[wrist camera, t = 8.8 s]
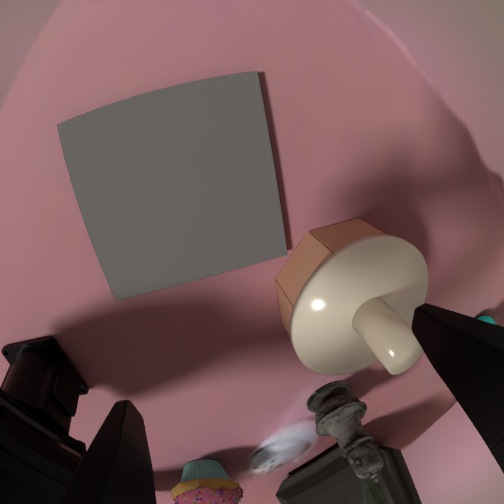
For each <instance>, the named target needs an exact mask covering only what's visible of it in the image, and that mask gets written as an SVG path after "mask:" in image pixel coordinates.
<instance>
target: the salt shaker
mask: <svg viewBox="0 0 504 504" xmlns="http://www.w3.org/2000/svg"><path fill="white" fill-rule="evenodd" d="M350 389H351V388H350V385H349V384H348V382H345V381H335V382H331V383H328V384H326V385H324V386H322V387H321V388H319V389H318V390H316V391H315V392H314V393H313V394H312V395H311V396H310V398H309V399H308V401H307V408H308V410H309V411H311V412H314V413H316V433H317V434H318V435H320V436H324V437H327V436H333V437H334V438H335V439H336V440H337V442H338V444H339V446H340V448H341V449H342V453H341V456H342V457H344V458H347V459H348V461H349V463H350V464H351V466H352V468H353V470H354V472H355V474H356V475H357V477H359V478H361V479H367V478H373V479H374V480H373V481H375V482H377V483H378V482H379V478H380V477H377V475H378V474H379V472H380V471H381V469H382V468H383V464H384V463H383V460H382V458H381V457H380V455H379V453H378V452H377V450H376V449H375V447H374V445H373V444H372V443H373V441H374V438H373V437H372V436H368V434H367V432H366V431H365V429H364V428H363V426H362V423H361V419H362V418H363V416H364V415H365V413H366V410H367V405H366V404H365V403H364V402H361V401H359V399H357V398H356V397H354V396H352V395H348V394H349V393H350Z"/></svg>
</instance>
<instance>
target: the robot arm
mask: <svg viewBox="0 0 504 504" xmlns="http://www.w3.org/2000/svg"><path fill="white" fill-rule="evenodd" d="M411 329H412V332H413V334H414V336H415V338H416V339H417V341H418V343H419V344H420V346H421V347H422V349H423V351H424V352H425V354H426V356H427V358H428V359H429V361H430V363H431V364H432V366H433V367H434V369H435V370H436V372H437V373H438V374H439V376H440V377H441V379H442V380H443V381H444V383H445V384H446V385H447V387H448V388H449V390H450V391H451V392H452V394H453V395H454V397H455V398H456V400H457V401H458V402H459V404H460V405H461V407H462V408H463V410H464V411H465V413H466V414H467V416H468V417H469V418H470V420H471V422H472V423H473V425H474V426H475V427H476V429H477V431H478V432H479V434H480V435H481V437H482V438H483V440H484V441H485V443H486V445H487V446H488V448H489V449H490V450H491V453H492V455H493V456H494V458H495V459H496V461H497V463H498V464H499V466H500V467H501V470H502V471H503V473H504V327H502V326H499V325H495V324H492V323H489V322H486V321H482V320H479V319H476V318H473V317H469V316H466V315H463V314H460V313H456V312H453V311H450V310H447V309H443V308H440V307H437V306H434V305H430V304H427V303H425V304H422V305H420V306H418V307H416V308H415V310H414V314H413V320H412V325H411ZM49 342H50V343H49ZM51 343H52V344H51ZM2 354H3V355H4V357H5V358H6V359H7V361H8V362H9V364H10V367H9V369H8V371H7V373H6V376H5V378H4V380H3V383H2V385H1V387H0V504H156V496H155V488H154V478H153V469H152V462H151V457H150V452H149V447H148V442H147V437H146V431H145V425H144V420H143V418H142V416H141V414H140V413H139V411H138V410H137V409H136V407H135V406H134V405H133V403H132V402H131V401H130V400H122V401H117V402H116V403H115V404H114V406H113V407H112V409H111V411H110V412H109V414H108V416H107V417H106V419H105V421H104V422H103V424H102V426H101V428H100V429H99V431H98V433H97V434H96V436H95V438H94V440H93V441H92V443H91V445H90V447H89V448H88V450H87V452H86V446H85V443H83V442H82V441H80V440H76V439H74V438H73V437H71V436H69V429H70V423H71V418H72V417H74V416H75V414H76V409H77V404H78V399H79V395H85V394H87V393H88V390H89V388H88V386H87V385H86V384H85V382H84V381H83V379H82V378H81V377H80V375H79V374H78V372H77V371H76V370H75V368H74V367H73V365H72V364H71V362H70V361H69V360H68V358H67V357H66V355H65V354H64V352H63V351H62V349H61V348H60V346H59V344H58V343H57V341H56V340H55V339H54V338H53V337H45V338H40V339H36V340H31V341H27V342H22V343H17V344H12V345H7V346H4V347H3V349H2Z"/></svg>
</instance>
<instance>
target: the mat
mask: <svg viewBox="0 0 504 504" xmlns="http://www.w3.org/2000/svg"><path fill="white" fill-rule="evenodd" d="M57 128H58V132H59V137H60V141H61V145H62V149H63V153H64V157H65V161H66V165H67V168H68V172H69V176H70V179H71V182H72V186H73V189H74V192H75V196H76V199H77V202H78V205H79V208H80V211H81V214H82V217H83V220H84V223H85V226H86V228H87V231H88V234H89V237H90V239H91V242H92V245H93V247H94V250H95V252H96V255H97V258H98V260H99V262H100V265H101V267H102V270H103V272H104V275H105V277H106V279H107V282H108V284H109V286H110V288H111V291H112V293H113V295H114V297H115V299H116V301H120V300H124V299H127V298H131V297H135V296H139V295H142V294H146V293H150V292H154V291H157V290H161V289H165V288H169V287H172V286H176V285H180V284H184V283H187V282H191V281H195V280H198V279H202V278H206V277H209V276H213V275H217V274H220V273H224V272H228V271H231V270H235V269H238V268H242V267H246V266H249V265H253V264H256V263H260V262H264V261H267V260H271V259H274V258H278V257H281V256H285V255H288V254H287V247H286V240H285V233H284V226H283V219H282V212H281V206H280V199H279V193H278V186H277V180H276V174H275V168H274V162H273V156H272V150H271V144H270V138H269V132H268V126H267V121H266V115H265V110H264V104H263V99H262V93H261V88H260V83H259V78H258V72H257V71H252V72H245V73H238V74H231V75H225V76H219V77H213V78H208V79H203V80H198V81H193V82H188V83H184V84H179V85H175V86H171V87H167V88H163V89H159V90H155V91H152V92H148V93H145V94H141V95H138V96H134V97H131V98H128V99H125V100H121V101H118V102H115V103H112V104H109V105H106V106H104V107H101V108H98V109H95V110H93V111H90V112H87V113H85V114H82V115H79V116H77V117H74V118H72V119H70V120H67V121H65V122H62V123H60V124H58V125H57Z"/></svg>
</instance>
